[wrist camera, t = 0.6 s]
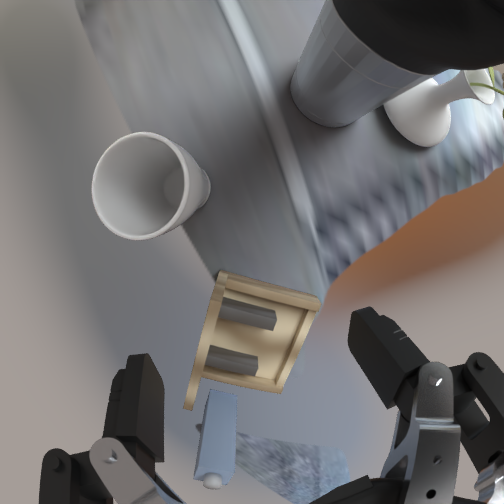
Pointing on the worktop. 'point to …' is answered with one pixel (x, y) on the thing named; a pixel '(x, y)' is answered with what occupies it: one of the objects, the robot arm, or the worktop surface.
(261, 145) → the worktop surface
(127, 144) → the drinking glass
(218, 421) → the blue square bottle
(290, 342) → the box
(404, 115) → the flower in vase
